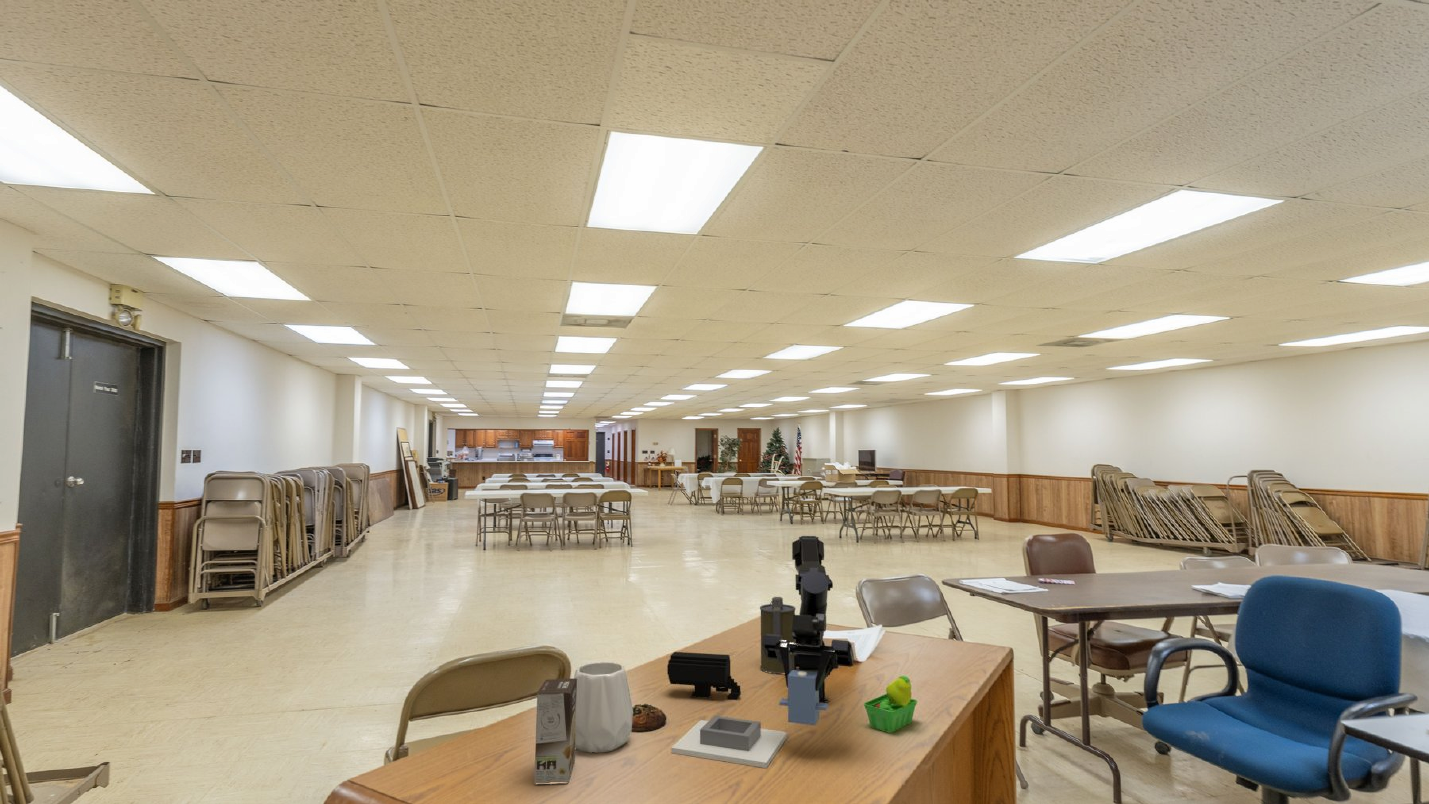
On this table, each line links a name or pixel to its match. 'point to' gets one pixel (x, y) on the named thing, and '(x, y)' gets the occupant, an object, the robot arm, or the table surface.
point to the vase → (602, 707)
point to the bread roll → (647, 718)
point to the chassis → (731, 741)
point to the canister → (776, 630)
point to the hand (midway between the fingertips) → (801, 688)
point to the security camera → (702, 673)
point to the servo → (803, 698)
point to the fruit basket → (892, 707)
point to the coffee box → (555, 730)
